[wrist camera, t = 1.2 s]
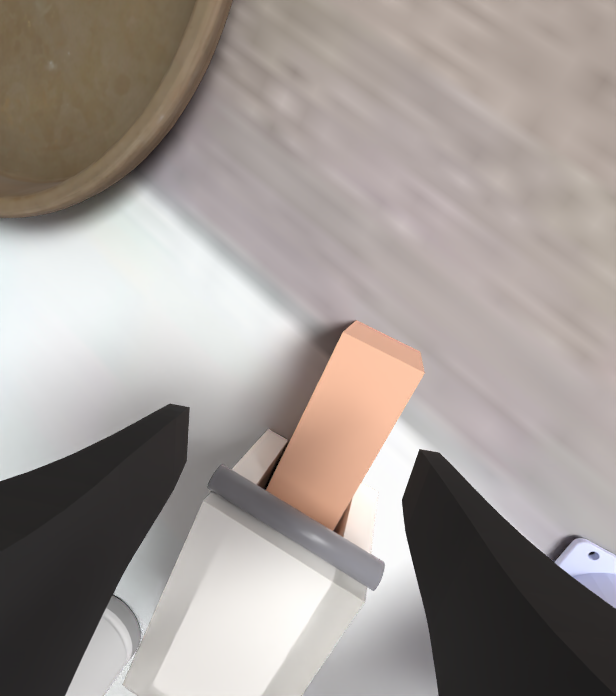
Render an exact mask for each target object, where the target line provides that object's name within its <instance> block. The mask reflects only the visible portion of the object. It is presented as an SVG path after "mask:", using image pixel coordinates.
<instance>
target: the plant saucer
mask: <svg viewBox="0 0 616 696" xmlns="http://www.w3.org/2000/svg"><path fill="white" fill-rule="evenodd" d="M232 1H233V0H0V218H23V217H32V216H38V215H44V214H49V213H53V212H56V211H59V210H63V209H66V208H68V207H71V206H73V205H75V204H78V203H80V202H82V201H84V200H86V199H88V198H90V197H92V196H94V195H96V194H98V193H100V192H102V191H103V190H105V189H107V188H108V187H110V186H112V185H113V184H115V183H116V182H118V181H119V180H121V179H122V178H123V177H125V176H126V175H127V174H128V173H130V172H131V171H132V170H133V169H135V168H136V167H137V166H138V165H139V164H140V163H141V162H142V161H143V160H144V159H145V158H146V157H147V156H148V155H149V154H150V153H151V152H152V151H153V149H154V148H155V147H156V146H157V145H158V144H159V143H160V142H161V141H162V139H163V138H164V137H165V136H166V135H167V133H168V132H169V131H170V130H171V129H172V127H173V126H174V124H175V123H176V121H177V120H178V118H179V117H180V115H181V114H182V112H183V111H184V109H185V108H186V106H187V104H188V103H189V101H190V99H191V98H192V96H193V94H194V93H195V91H196V89H197V87H198V86H199V84H200V82H201V80H202V78H203V76H204V74H205V72H206V70H207V68H208V66H209V63H210V61H211V59H212V56H213V54H214V52H215V49H216V46H217V44H218V41H219V39H220V36H221V33H222V31H223V28H224V26H225V23H226V20H227V17H228V13H229V10H230V7H231V4H232Z"/></svg>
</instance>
